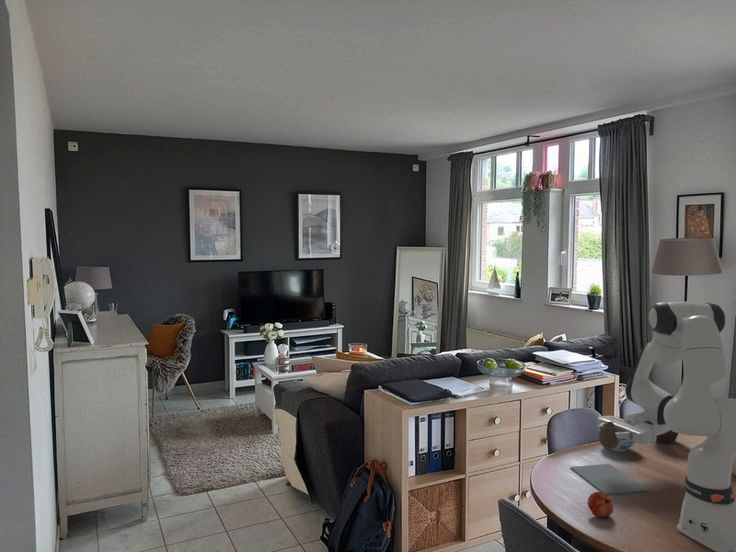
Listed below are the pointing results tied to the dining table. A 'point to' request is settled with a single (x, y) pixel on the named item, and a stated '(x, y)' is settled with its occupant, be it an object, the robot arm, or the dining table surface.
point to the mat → (608, 479)
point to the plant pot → (667, 437)
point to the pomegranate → (600, 504)
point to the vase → (608, 436)
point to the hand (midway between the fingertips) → (607, 432)
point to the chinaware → (623, 445)
